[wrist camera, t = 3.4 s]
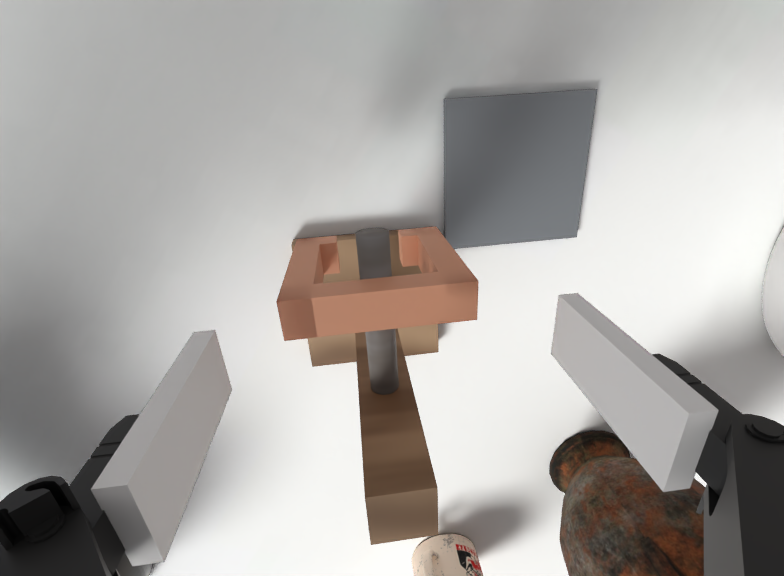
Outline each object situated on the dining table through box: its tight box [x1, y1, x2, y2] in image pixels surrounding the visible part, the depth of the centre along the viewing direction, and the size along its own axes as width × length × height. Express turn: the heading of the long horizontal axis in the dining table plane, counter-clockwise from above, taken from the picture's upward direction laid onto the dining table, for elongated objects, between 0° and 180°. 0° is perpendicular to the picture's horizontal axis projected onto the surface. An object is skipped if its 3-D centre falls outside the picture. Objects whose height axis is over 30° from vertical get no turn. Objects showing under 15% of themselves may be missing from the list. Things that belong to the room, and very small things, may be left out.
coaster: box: [444, 89, 597, 249], centre depth 34 cm, size 12×12×1 cm
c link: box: [277, 226, 478, 341], centre depth 22 cm, size 9×2×9 cm, turn 93°
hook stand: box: [292, 227, 438, 545], centre depth 26 cm, size 16×12×22 cm
